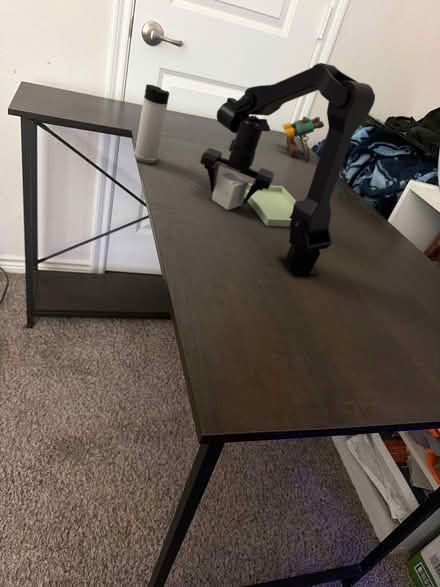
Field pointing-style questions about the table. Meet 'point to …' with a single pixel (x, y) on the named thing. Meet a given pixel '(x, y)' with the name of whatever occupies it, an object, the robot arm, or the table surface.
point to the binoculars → (301, 133)
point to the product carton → (230, 190)
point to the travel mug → (151, 124)
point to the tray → (272, 205)
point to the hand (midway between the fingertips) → (228, 197)
